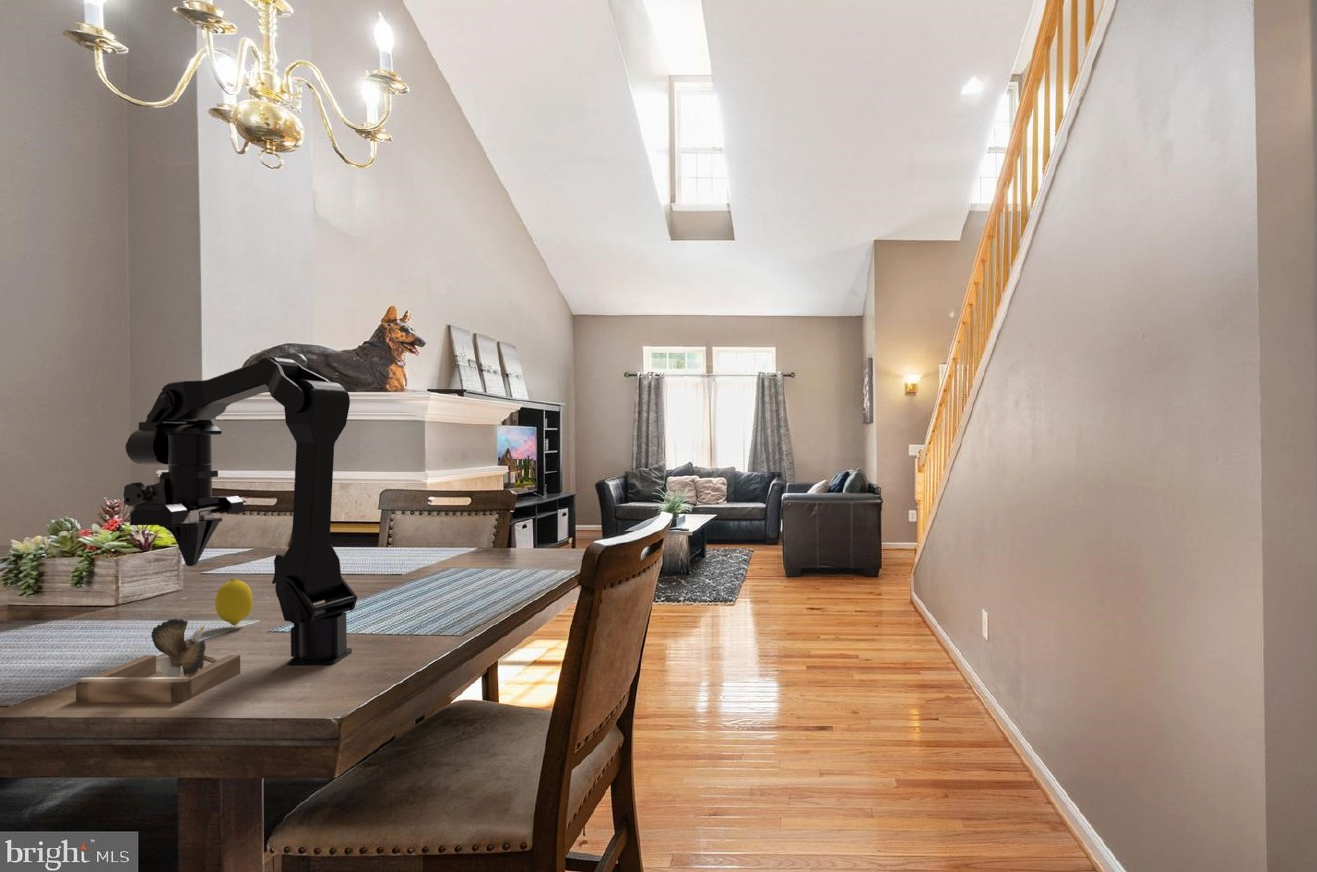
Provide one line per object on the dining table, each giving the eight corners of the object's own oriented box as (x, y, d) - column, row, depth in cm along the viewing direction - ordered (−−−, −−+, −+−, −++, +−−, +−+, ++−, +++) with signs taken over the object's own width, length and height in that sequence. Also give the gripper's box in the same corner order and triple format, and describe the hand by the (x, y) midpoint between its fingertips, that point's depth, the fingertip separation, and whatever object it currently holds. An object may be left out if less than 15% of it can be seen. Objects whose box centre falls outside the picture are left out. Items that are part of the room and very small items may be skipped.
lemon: (212, 625, 126) (211, 578, 126) (248, 619, 130) (247, 574, 130) (219, 631, 122) (219, 582, 122) (257, 625, 126) (256, 578, 126)
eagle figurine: (236, 636, 102) (219, 630, 94) (209, 689, 99) (189, 687, 91) (179, 618, 101) (157, 610, 93) (150, 671, 98) (125, 667, 90)
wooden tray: (240, 673, 100) (240, 651, 100) (183, 704, 88) (183, 679, 88) (145, 673, 100) (144, 652, 100) (75, 704, 89) (75, 680, 89)
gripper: (179, 463, 125) (180, 556, 125) (91, 467, 106) (92, 577, 106) (244, 462, 125) (245, 556, 125) (168, 466, 106) (169, 576, 106)
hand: (191, 565), depth 115 cm, fingers closed
